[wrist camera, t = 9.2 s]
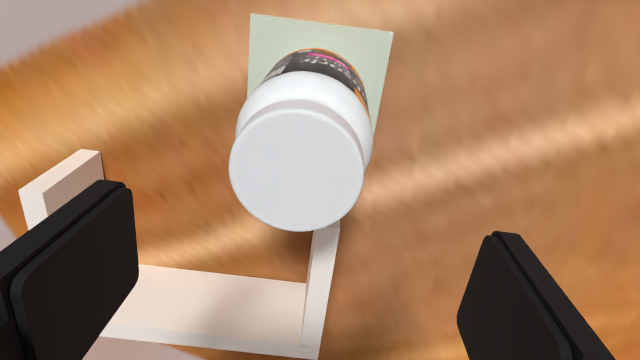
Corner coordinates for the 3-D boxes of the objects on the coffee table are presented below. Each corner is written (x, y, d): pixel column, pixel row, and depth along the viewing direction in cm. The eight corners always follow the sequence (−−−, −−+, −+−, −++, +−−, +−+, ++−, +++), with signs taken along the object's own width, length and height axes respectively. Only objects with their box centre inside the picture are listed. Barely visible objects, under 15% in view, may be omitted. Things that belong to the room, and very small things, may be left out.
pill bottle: (385, 87, 22) (418, 161, 13) (324, 162, 24) (315, 269, 15) (302, 22, 20) (273, 53, 11) (244, 107, 23) (184, 190, 14)
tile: (367, 158, 24) (368, 162, 24) (247, 143, 24) (245, 147, 24) (392, 31, 21) (393, 32, 20) (252, 12, 21) (250, 13, 20)
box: (320, 297, 30) (317, 360, 25) (101, 272, 29) (55, 331, 24) (339, 180, 25) (340, 228, 20) (80, 149, 25) (18, 190, 20)
